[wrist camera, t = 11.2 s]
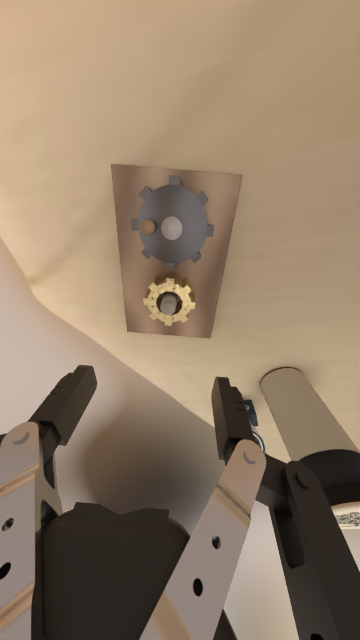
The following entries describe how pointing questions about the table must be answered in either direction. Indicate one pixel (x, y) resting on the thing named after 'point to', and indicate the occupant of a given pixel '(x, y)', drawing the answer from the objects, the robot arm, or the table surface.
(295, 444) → the travel mug
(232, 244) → the table surface
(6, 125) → the table surface
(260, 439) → the watch
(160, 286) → the brass gear
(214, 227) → the gear board
